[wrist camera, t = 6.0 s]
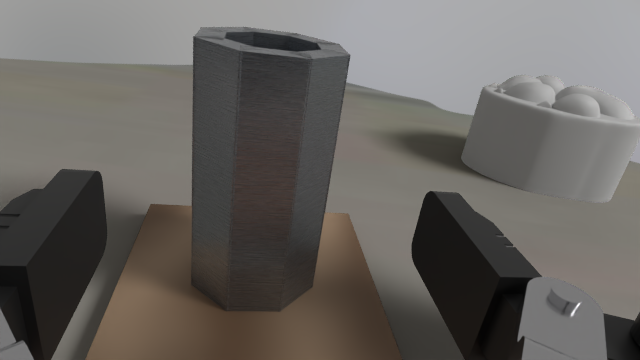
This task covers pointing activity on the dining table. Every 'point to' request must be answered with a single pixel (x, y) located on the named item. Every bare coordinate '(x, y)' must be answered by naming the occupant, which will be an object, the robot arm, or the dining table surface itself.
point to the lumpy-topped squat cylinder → (552, 138)
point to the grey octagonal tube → (261, 162)
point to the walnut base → (240, 326)
